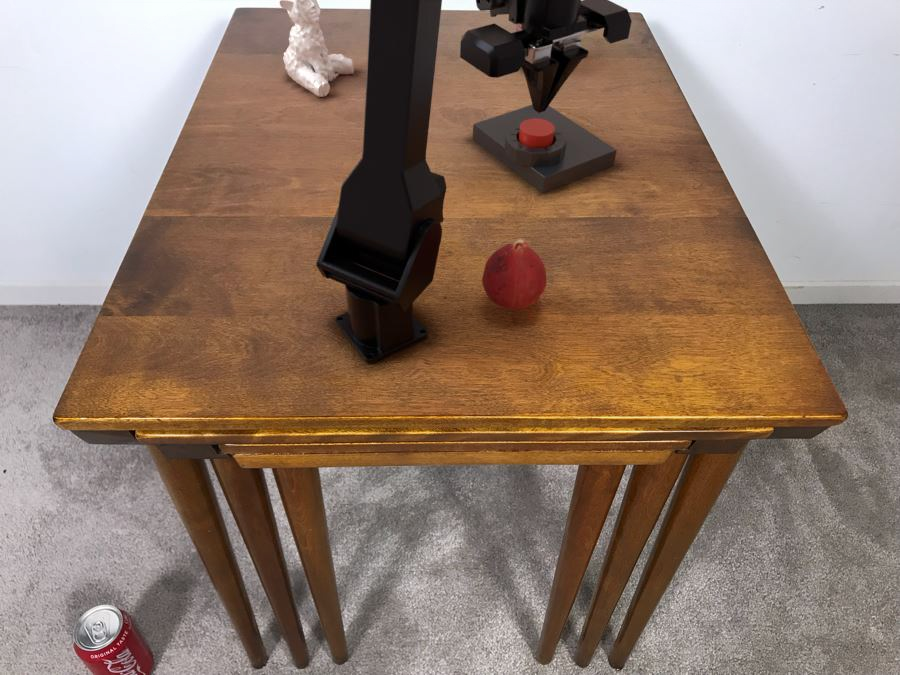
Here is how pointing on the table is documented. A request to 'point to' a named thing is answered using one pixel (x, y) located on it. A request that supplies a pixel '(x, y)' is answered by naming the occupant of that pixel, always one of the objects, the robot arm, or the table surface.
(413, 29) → the robot arm
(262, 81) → the table surface
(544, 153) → the console
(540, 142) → the button
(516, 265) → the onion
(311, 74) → the seated beast figurine
